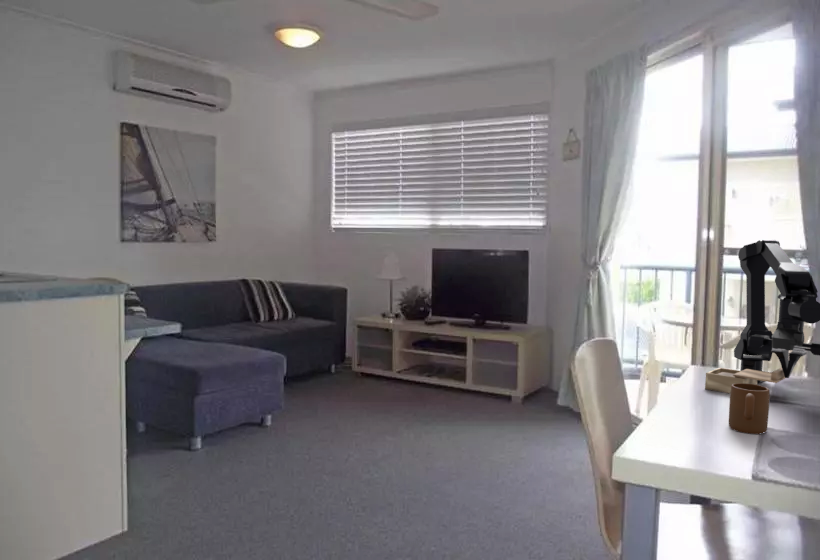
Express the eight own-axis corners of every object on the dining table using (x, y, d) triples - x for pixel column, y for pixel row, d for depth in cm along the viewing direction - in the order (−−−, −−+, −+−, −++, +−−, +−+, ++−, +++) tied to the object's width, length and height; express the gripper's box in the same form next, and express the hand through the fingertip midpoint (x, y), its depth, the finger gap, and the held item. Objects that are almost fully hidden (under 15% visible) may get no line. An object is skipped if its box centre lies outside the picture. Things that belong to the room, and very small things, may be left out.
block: (738, 387, 186) (739, 374, 185) (732, 389, 182) (733, 376, 182) (721, 384, 189) (722, 371, 188) (715, 386, 185) (716, 374, 185)
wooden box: (718, 383, 192) (719, 367, 192) (756, 389, 185) (757, 373, 185) (704, 389, 184) (705, 372, 184) (744, 396, 177) (745, 379, 177)
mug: (768, 442, 137) (771, 397, 137) (727, 436, 141) (729, 392, 140) (766, 428, 148) (769, 385, 147) (728, 422, 151) (731, 381, 151)
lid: (746, 370, 187) (747, 361, 187) (788, 376, 180) (788, 367, 180) (733, 376, 179) (733, 366, 179) (776, 383, 172) (777, 373, 172)
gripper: (742, 316, 175) (739, 376, 176) (826, 325, 162) (821, 389, 163) (755, 313, 183) (751, 370, 184) (835, 321, 170) (831, 382, 171)
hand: (787, 377), depth 175 cm, fingers closed
